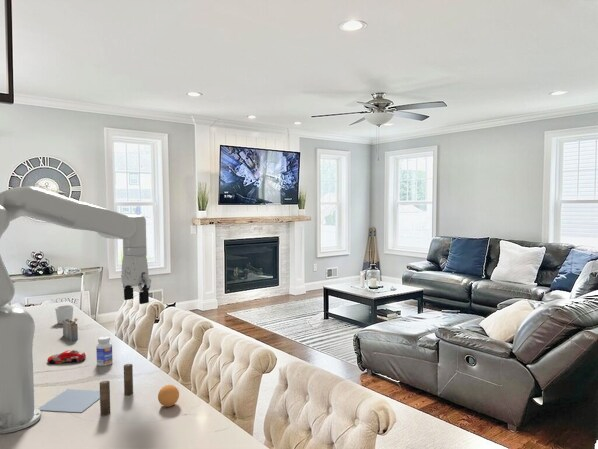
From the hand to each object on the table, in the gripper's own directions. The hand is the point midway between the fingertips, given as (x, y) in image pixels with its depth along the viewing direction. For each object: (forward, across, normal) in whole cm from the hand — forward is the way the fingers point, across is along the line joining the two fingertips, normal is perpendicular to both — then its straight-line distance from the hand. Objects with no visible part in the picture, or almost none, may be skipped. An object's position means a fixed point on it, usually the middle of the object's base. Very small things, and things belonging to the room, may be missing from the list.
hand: (136, 301), depth 149 cm
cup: (+26, -93, +14) cm, 98 cm away
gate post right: (+26, +10, -9) cm, 30 cm away
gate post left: (+26, +17, -20) cm, 37 cm away
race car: (+27, -35, -9) cm, 45 cm away
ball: (+23, +27, -6) cm, 36 cm away
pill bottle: (+26, -21, -1) cm, 34 cm away
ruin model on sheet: (+27, -64, +4) cm, 70 cm away
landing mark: (+26, +2, -22) cm, 34 cm away
